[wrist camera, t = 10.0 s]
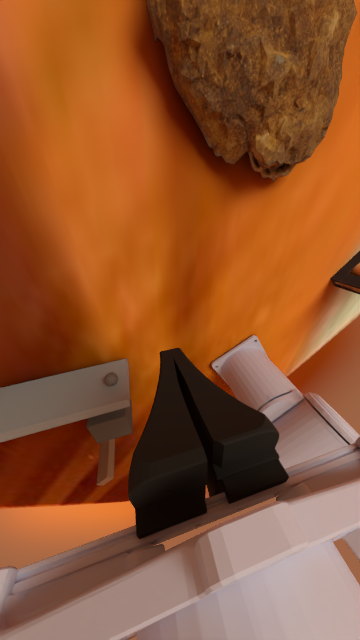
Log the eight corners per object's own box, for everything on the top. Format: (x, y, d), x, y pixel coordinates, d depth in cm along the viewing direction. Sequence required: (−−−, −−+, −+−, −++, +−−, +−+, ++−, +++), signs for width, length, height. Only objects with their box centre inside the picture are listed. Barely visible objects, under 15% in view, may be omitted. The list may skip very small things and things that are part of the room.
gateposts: (-90, 366, 18) (-195, 448, 12) (-79, 354, 18) (-182, 432, 12) (106, 429, 31) (103, 485, 25) (115, 423, 31) (113, 478, 25)
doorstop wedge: (81, 372, 24) (73, 407, 20) (117, 363, 25) (116, 395, 21) (101, 408, 28) (97, 443, 24) (131, 400, 29) (132, 432, 25)
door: (4, 395, 22) (-31, 450, 17) (-11, 380, 21) (-53, 436, 16) (128, 365, 24) (130, 406, 19) (123, 350, 23) (123, 390, 18)
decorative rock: (341, 101, 17) (243, -210, 9) (400, 69, 13) (314, -464, 6) (250, 214, 19) (116, 35, 12) (278, 213, 15) (113, -42, 8)
